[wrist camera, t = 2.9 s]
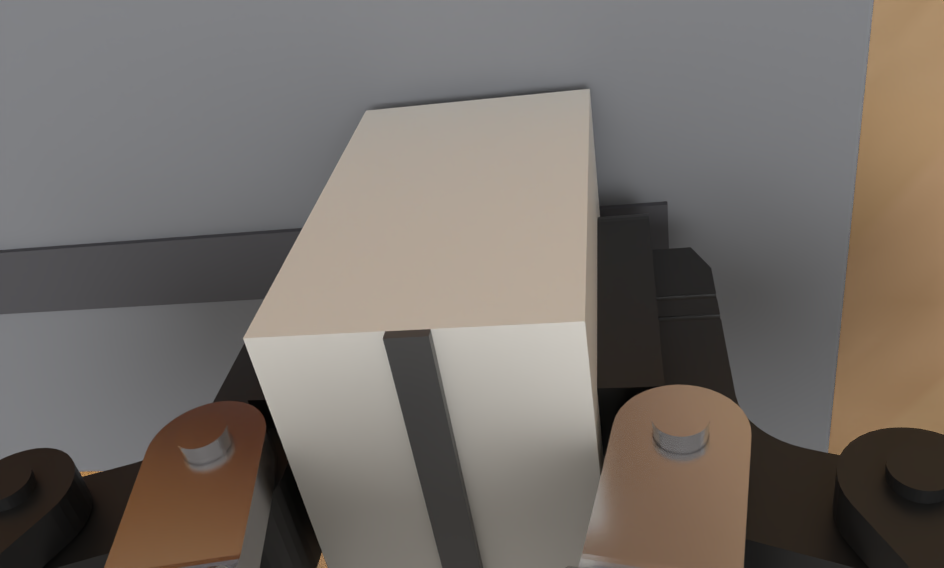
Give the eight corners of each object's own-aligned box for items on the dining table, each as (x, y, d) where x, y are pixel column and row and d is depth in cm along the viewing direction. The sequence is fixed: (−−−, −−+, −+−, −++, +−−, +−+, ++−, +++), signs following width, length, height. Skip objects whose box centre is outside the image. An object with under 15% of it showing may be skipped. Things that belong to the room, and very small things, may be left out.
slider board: (844, -150, 11) (890, -118, 10) (804, 378, 16) (830, 465, 15) (-566, 47, 16) (-716, 94, 14) (-262, 416, 21) (-344, 486, 19)
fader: (590, 88, 11) (584, 329, 7) (613, 384, 14) (619, 684, 10) (365, 110, 12) (239, 345, 8) (431, 391, 15) (363, 677, 10)
